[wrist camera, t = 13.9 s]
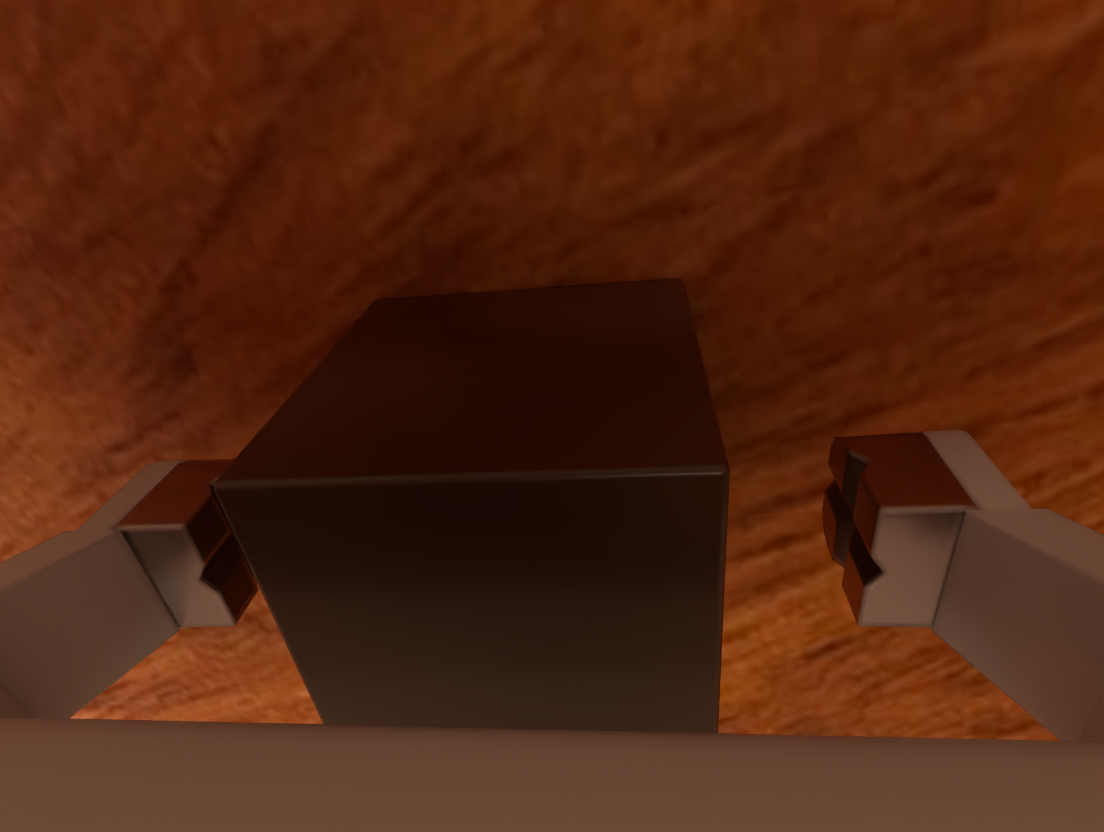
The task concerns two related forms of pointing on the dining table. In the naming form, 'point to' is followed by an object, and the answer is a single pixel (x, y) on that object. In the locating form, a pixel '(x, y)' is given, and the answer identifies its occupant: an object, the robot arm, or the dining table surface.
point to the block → (498, 514)
